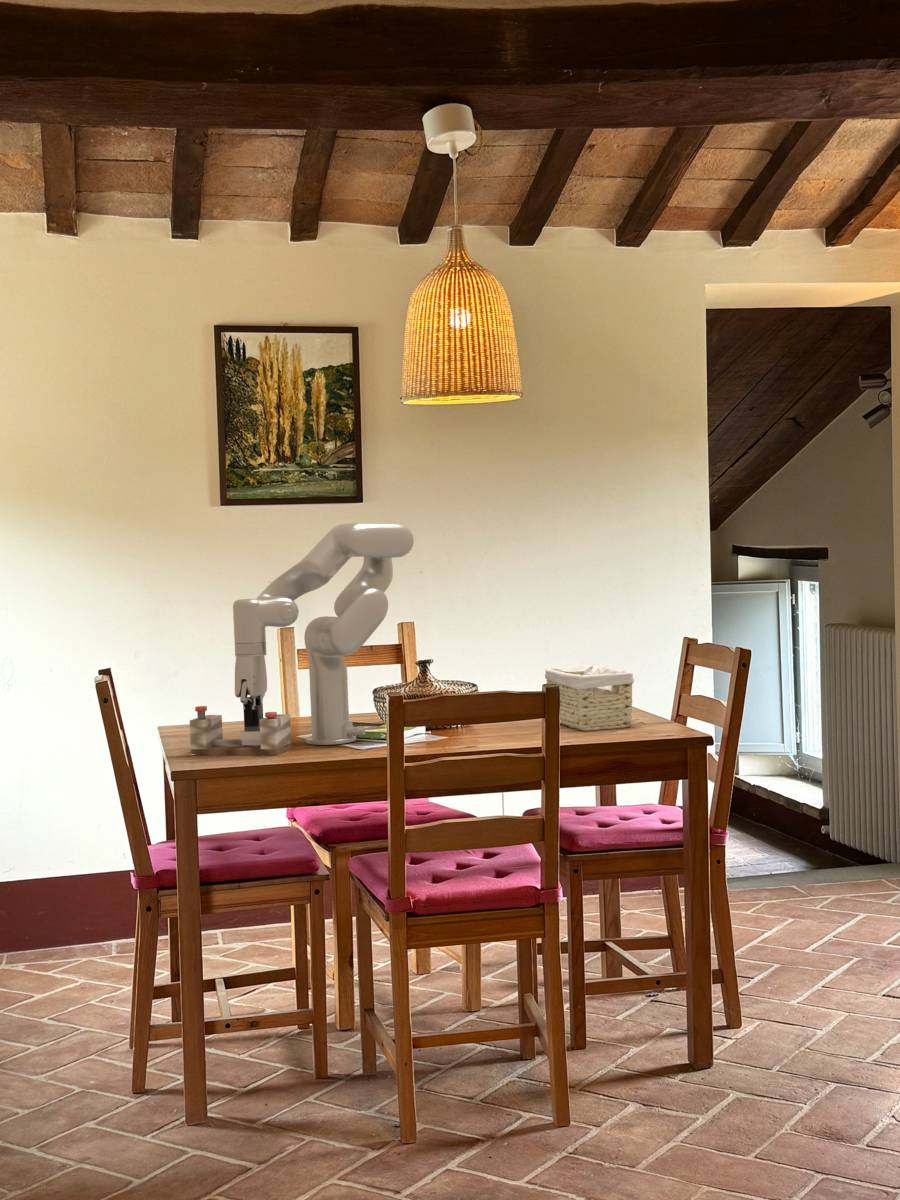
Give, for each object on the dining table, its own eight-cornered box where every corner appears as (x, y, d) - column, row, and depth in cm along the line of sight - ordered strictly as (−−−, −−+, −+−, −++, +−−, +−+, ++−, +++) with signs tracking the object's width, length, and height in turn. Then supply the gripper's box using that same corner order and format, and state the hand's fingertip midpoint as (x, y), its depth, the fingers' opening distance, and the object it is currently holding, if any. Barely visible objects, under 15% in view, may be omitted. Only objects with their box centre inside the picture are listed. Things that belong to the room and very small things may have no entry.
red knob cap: (279, 728, 311) (278, 711, 311) (275, 729, 309) (274, 713, 309) (268, 728, 312) (267, 711, 312) (263, 730, 309) (263, 713, 309)
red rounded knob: (209, 722, 316) (208, 705, 315) (204, 723, 313) (203, 707, 313) (198, 722, 316) (198, 706, 316) (193, 723, 313) (193, 707, 313)
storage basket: (637, 728, 331) (636, 670, 330) (579, 733, 326) (577, 674, 326) (599, 717, 354) (598, 663, 353) (544, 722, 349) (542, 667, 349)
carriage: (268, 742, 316) (266, 704, 316) (260, 745, 311) (258, 706, 311) (249, 742, 317) (247, 704, 317) (241, 745, 312) (239, 707, 312)
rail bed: (291, 748, 317) (290, 714, 317) (276, 755, 308) (275, 719, 307) (208, 748, 323) (206, 714, 322) (191, 755, 313) (189, 720, 312)
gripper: (248, 647, 322) (252, 721, 323) (222, 653, 306) (226, 730, 307) (277, 646, 320) (280, 720, 321) (252, 652, 305) (255, 730, 305)
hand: (253, 724), depth 314 cm, fingers closed on carriage, 2 cm apart
